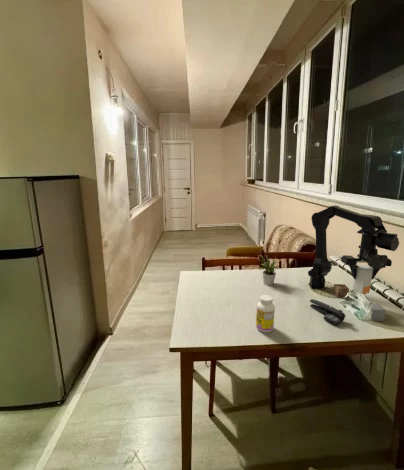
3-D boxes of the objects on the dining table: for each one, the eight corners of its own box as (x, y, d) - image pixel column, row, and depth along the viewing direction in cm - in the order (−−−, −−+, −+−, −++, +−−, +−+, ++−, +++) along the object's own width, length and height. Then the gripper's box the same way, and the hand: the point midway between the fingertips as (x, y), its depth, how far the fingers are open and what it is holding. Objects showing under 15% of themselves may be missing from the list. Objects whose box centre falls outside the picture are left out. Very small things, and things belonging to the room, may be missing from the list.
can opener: (348, 325, 105) (350, 312, 103) (334, 328, 103) (336, 315, 101) (316, 304, 121) (318, 293, 120) (304, 307, 119) (305, 295, 118)
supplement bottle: (253, 323, 105) (255, 294, 102) (269, 323, 106) (271, 293, 103) (258, 333, 99) (260, 302, 96) (275, 332, 99) (278, 301, 96)
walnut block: (337, 297, 128) (338, 288, 126) (332, 293, 132) (334, 284, 131) (347, 298, 127) (349, 288, 126) (343, 293, 132) (344, 284, 131)
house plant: (247, 282, 145) (248, 254, 142) (262, 276, 154) (263, 249, 151) (269, 290, 135) (271, 260, 131) (284, 283, 144) (286, 254, 140)
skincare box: (361, 296, 115) (365, 270, 113) (352, 292, 119) (355, 267, 116) (370, 293, 118) (373, 267, 115) (360, 289, 122) (364, 264, 119)
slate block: (371, 320, 108) (372, 309, 107) (364, 314, 113) (366, 303, 112) (383, 321, 108) (385, 309, 106) (376, 314, 112) (378, 303, 111)
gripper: (355, 249, 106) (350, 285, 110) (403, 250, 105) (396, 287, 109) (342, 242, 117) (338, 275, 121) (386, 243, 116) (380, 276, 119)
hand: (363, 279), depth 117 cm, fingers closed on skincare box, 7 cm apart
